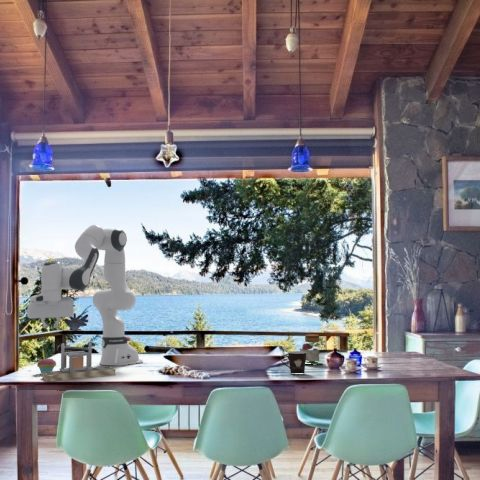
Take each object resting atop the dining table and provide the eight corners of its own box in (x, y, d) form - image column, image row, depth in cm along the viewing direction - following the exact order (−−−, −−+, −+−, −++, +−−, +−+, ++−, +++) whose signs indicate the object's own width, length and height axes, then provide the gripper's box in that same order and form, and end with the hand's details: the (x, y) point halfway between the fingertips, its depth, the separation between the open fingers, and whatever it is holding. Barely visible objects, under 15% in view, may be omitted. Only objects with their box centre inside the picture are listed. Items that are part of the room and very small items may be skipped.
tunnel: (82, 369, 283) (82, 350, 283) (89, 371, 275) (89, 353, 275) (63, 370, 278) (63, 352, 278) (69, 373, 270) (69, 354, 270)
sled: (89, 367, 282) (89, 341, 283) (93, 368, 278) (93, 342, 279) (59, 370, 275) (59, 343, 275) (62, 371, 270) (62, 344, 271)
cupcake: (38, 375, 280) (39, 349, 281) (35, 373, 287) (36, 347, 288) (57, 374, 284) (57, 348, 284) (54, 371, 291) (54, 346, 292)
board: (107, 371, 290) (107, 365, 290) (115, 374, 281) (115, 368, 281) (42, 378, 273) (42, 371, 273) (48, 381, 264) (48, 374, 265)
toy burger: (302, 361, 321) (302, 333, 322) (325, 362, 316) (325, 334, 317) (296, 364, 310) (296, 335, 311) (320, 366, 305) (320, 336, 306)
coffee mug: (309, 372, 285) (308, 351, 285) (303, 375, 277) (302, 353, 277) (286, 371, 289) (285, 350, 290) (279, 374, 282) (279, 352, 282)
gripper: (71, 296, 280) (71, 326, 279) (26, 297, 269) (26, 328, 268) (75, 296, 275) (75, 327, 274) (29, 297, 264) (29, 329, 263)
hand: (50, 327), depth 271 cm, fingers open, 3 cm apart
